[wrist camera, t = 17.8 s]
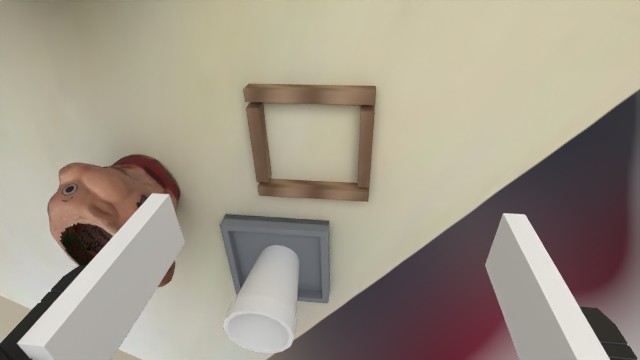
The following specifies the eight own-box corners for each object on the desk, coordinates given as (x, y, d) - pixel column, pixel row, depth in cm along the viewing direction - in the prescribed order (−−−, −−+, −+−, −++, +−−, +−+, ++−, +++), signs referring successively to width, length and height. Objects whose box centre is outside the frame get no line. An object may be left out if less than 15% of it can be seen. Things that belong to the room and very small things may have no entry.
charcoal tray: (241, 283, 62) (236, 295, 60) (225, 214, 53) (219, 225, 51) (329, 291, 60) (328, 303, 58) (328, 220, 51) (327, 232, 49)
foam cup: (300, 284, 59) (285, 359, 48) (248, 270, 58) (220, 342, 47) (314, 247, 53) (300, 321, 43) (256, 230, 53) (227, 302, 42)
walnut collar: (262, 187, 49) (259, 195, 48) (248, 83, 41) (243, 89, 39) (368, 192, 48) (368, 201, 46) (375, 86, 39) (375, 92, 38)
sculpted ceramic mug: (229, 222, 54) (190, 296, 43) (174, 245, 59) (126, 317, 47) (135, 117, 46) (56, 173, 34) (80, 153, 50) (-6, 214, 39)
